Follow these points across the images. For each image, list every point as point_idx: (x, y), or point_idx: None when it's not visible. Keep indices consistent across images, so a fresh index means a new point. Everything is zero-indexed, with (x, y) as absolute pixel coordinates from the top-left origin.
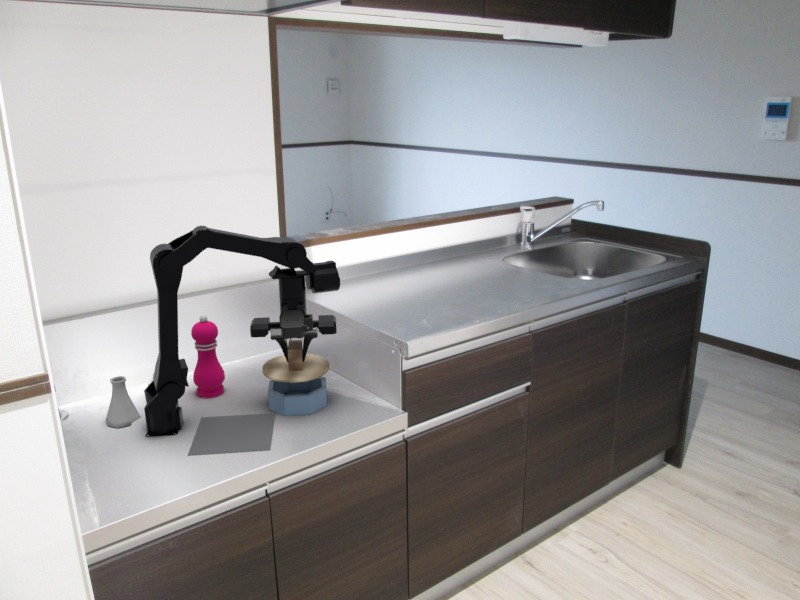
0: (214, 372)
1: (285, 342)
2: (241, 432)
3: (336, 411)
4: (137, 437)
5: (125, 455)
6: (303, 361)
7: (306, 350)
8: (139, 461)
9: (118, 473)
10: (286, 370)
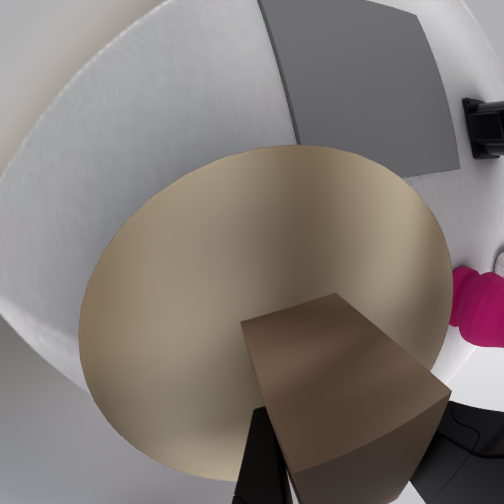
0: (496, 301)
1: (479, 456)
2: (366, 73)
3: (102, 251)
4: None
5: (480, 62)
6: (258, 408)
7: (244, 483)
8: (460, 37)
9: (460, 18)
10: (351, 300)
